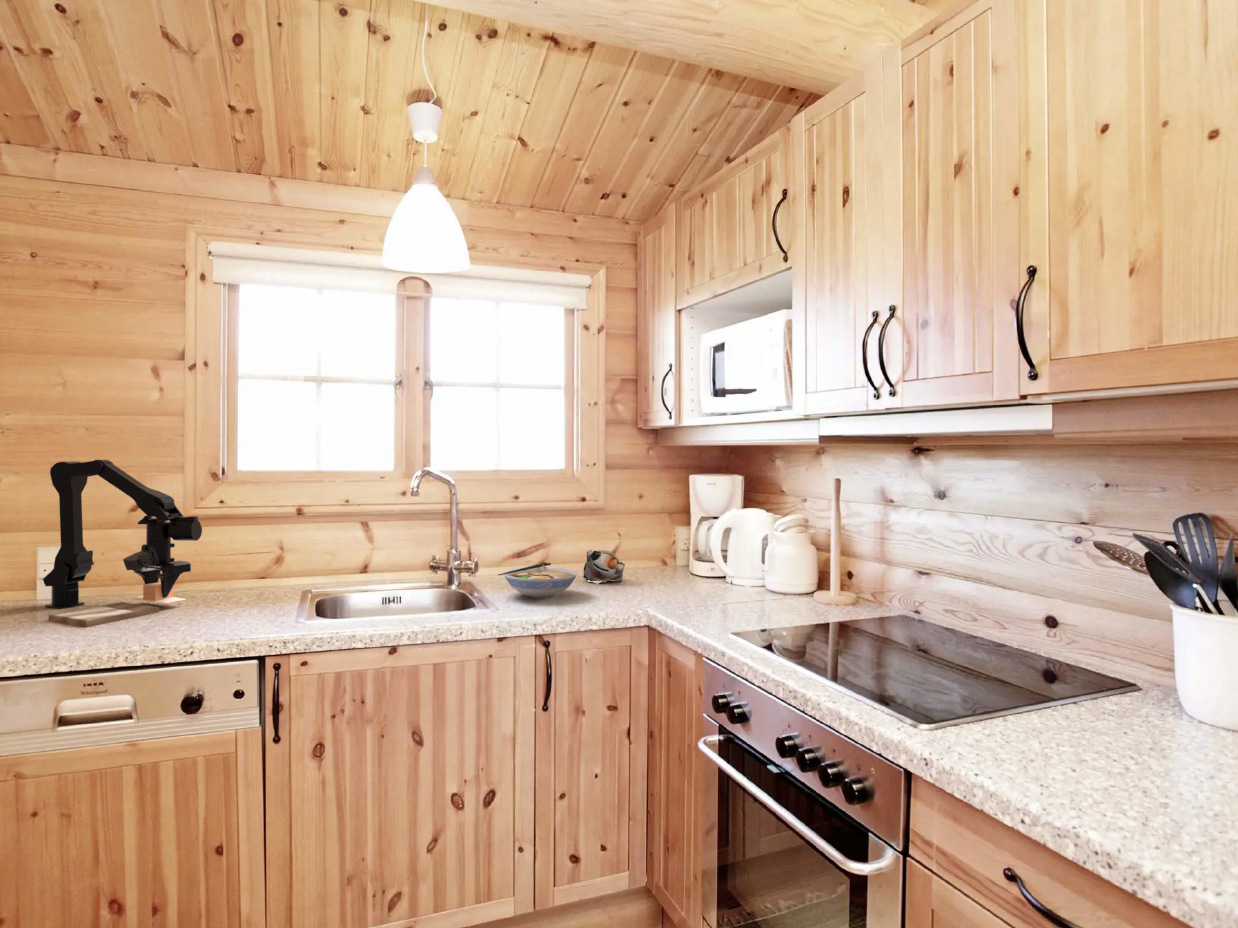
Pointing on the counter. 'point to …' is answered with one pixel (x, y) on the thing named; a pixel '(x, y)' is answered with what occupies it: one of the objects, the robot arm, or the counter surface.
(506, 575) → the ramen bowl
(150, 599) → the butter dish
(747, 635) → the counter surface
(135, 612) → the board
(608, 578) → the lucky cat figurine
